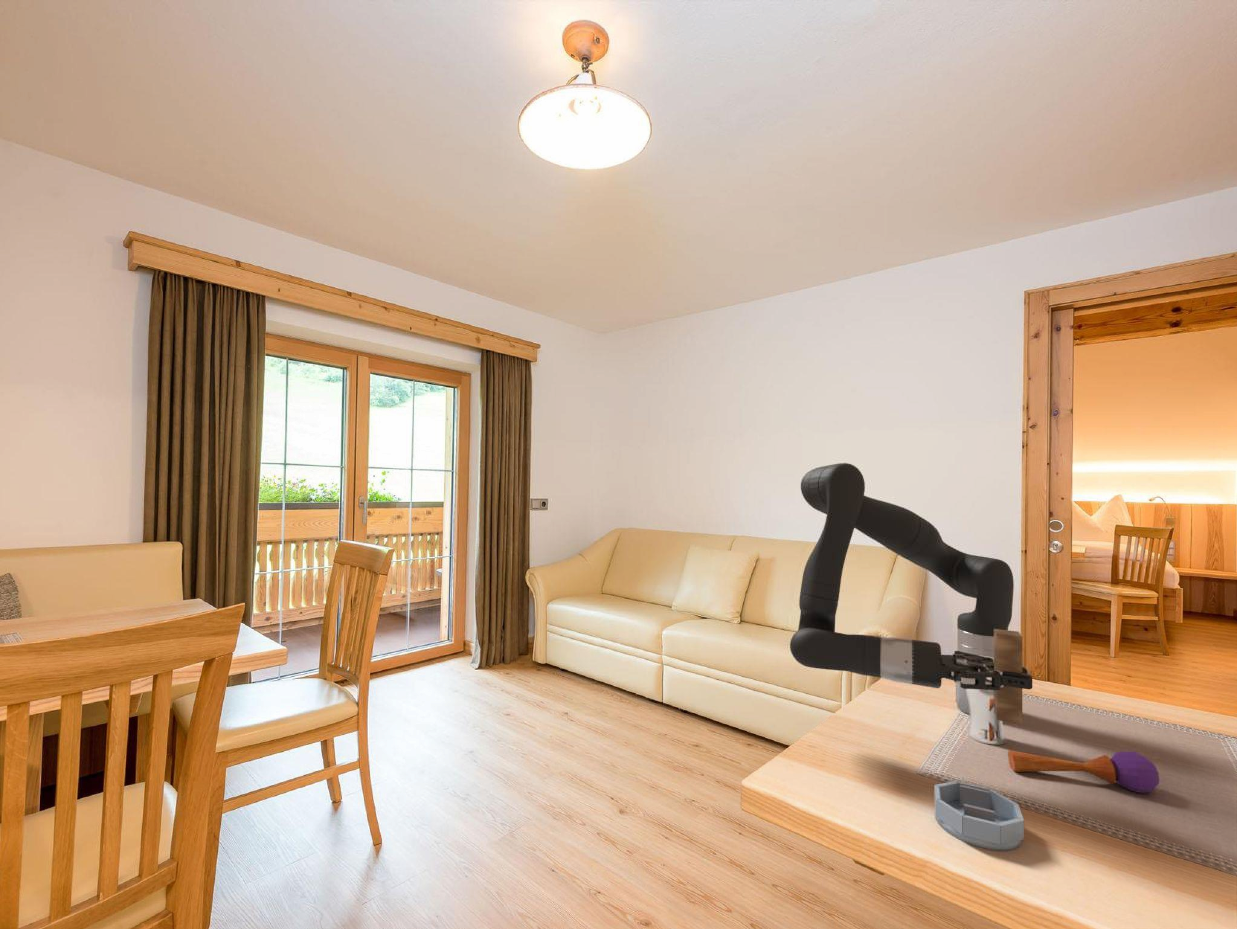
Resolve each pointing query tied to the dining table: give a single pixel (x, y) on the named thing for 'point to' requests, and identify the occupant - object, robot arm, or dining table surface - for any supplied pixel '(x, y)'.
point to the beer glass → (984, 716)
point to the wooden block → (1011, 661)
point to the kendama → (1096, 768)
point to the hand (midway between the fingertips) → (1028, 678)
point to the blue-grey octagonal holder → (978, 815)
